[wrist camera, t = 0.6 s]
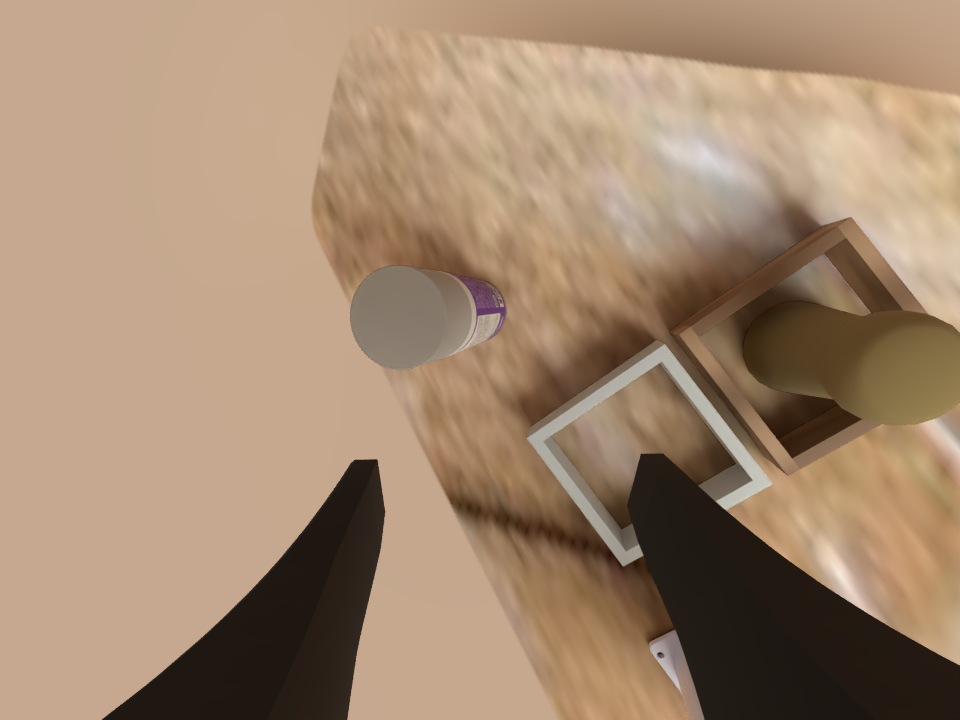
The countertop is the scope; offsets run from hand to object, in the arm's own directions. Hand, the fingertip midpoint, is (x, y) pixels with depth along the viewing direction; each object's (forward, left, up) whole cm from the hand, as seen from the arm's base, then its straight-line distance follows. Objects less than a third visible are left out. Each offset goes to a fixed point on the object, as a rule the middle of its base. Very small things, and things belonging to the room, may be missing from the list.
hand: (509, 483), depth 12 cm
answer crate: (-8, -2, -21) cm, 23 cm away
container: (+7, +2, -21) cm, 22 cm away
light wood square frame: (-8, -14, -21) cm, 26 cm away
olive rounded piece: (-8, -14, -21) cm, 26 cm away
